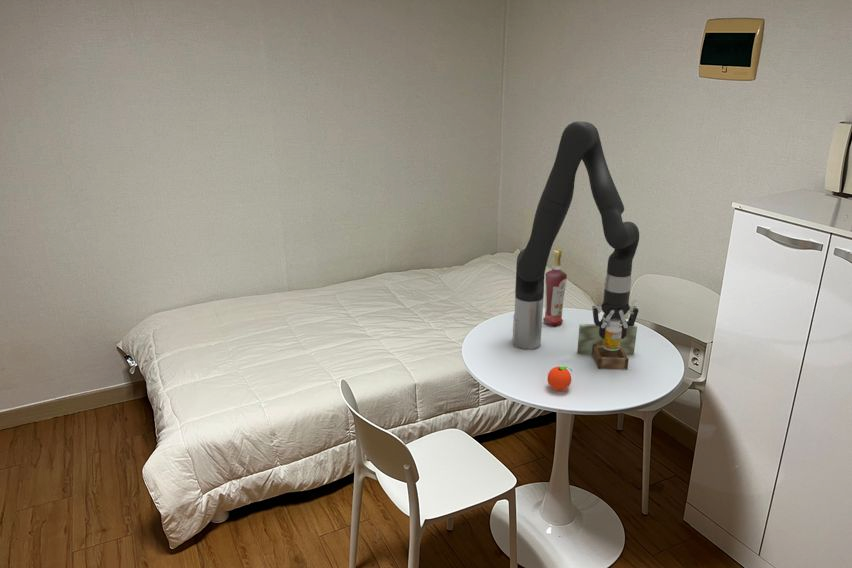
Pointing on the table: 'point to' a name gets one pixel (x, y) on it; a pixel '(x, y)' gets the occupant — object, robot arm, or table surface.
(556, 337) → the table surface
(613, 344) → the supplement bottle
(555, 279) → the liquor
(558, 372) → the clementine
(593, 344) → the board
